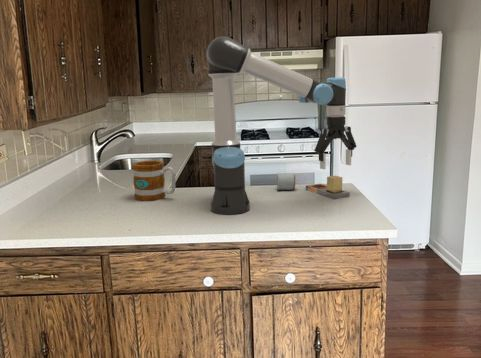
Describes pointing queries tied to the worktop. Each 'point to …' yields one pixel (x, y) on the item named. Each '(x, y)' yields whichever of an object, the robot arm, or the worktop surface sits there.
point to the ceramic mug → (285, 181)
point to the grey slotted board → (322, 190)
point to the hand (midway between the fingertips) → (335, 166)
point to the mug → (151, 180)
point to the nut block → (334, 184)
